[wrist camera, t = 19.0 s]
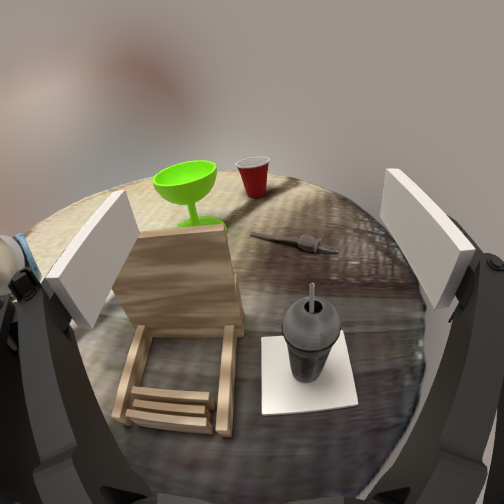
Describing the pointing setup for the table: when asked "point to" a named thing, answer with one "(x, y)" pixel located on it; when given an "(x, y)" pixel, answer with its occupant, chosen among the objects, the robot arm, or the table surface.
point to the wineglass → (188, 188)
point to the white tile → (305, 394)
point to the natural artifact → (300, 242)
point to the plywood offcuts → (172, 410)
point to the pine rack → (180, 305)
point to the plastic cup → (254, 175)
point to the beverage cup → (310, 335)
